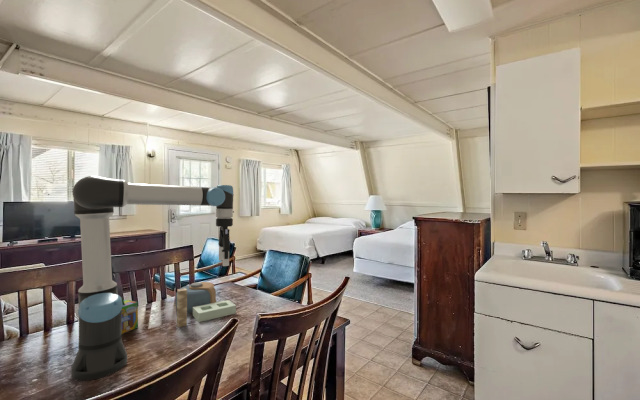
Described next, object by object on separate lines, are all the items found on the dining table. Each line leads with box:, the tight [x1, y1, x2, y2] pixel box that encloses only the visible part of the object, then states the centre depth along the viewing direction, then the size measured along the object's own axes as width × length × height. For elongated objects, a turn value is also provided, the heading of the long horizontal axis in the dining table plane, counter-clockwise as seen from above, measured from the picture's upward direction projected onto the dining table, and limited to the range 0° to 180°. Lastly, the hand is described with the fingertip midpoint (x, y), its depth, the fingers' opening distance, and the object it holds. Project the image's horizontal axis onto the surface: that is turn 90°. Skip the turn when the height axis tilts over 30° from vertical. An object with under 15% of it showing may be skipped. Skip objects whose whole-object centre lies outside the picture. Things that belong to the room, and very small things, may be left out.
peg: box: [176, 288, 188, 328], centre depth 134 cm, size 3×3×16 cm
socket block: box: [192, 299, 237, 323], centre depth 147 cm, size 18×10×4 cm, turn 128°
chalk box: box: [120, 296, 139, 335], centre depth 129 cm, size 9×9×15 cm
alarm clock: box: [175, 281, 218, 313], centre depth 158 cm, size 19×20×12 cm
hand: (223, 263), depth 140 cm, fingers open, 13 cm apart
